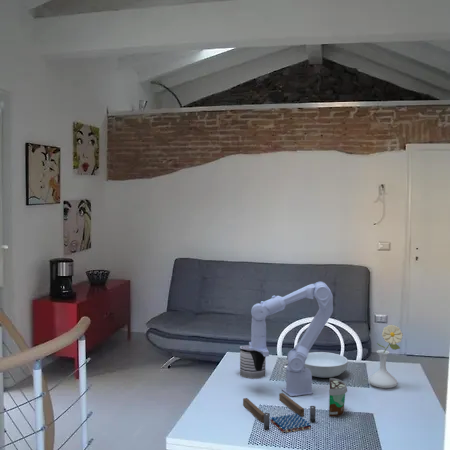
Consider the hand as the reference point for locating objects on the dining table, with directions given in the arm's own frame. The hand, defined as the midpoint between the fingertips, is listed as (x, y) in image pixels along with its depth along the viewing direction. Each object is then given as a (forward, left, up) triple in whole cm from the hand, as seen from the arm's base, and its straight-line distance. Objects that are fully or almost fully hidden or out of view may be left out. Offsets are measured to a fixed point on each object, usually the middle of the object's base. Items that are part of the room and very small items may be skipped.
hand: (258, 369), depth 205 cm
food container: (-18, +28, -9) cm, 34 cm away
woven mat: (+3, +32, -9) cm, 33 cm away
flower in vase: (-50, +12, -9) cm, 52 cm away
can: (-6, -19, -9) cm, 22 cm away
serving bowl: (-34, -9, -9) cm, 36 cm away
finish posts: (+3, +32, -8) cm, 33 cm away
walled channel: (+3, +19, -8) cm, 21 cm away
